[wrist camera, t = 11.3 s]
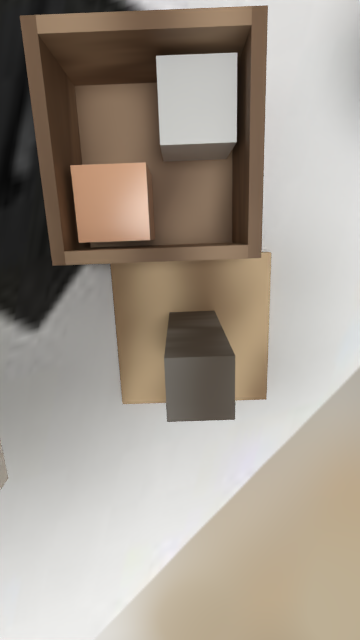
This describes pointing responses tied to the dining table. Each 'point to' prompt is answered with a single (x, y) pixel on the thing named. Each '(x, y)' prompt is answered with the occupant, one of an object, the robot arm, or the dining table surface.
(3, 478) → the robot arm
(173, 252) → the box
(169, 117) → the cube grey
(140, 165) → the cube terracotta
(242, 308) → the lid
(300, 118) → the dining table surface
